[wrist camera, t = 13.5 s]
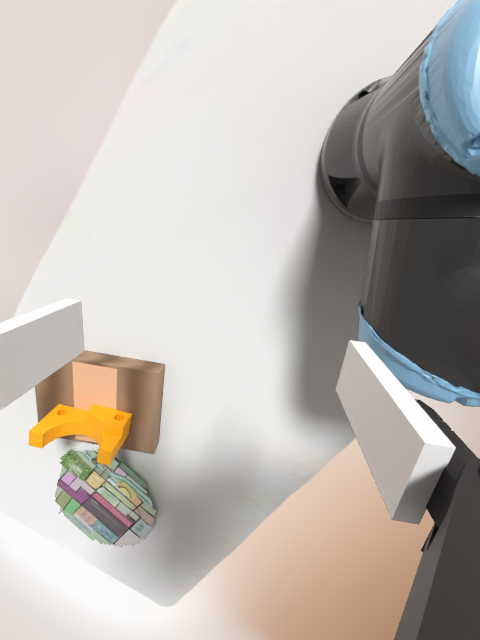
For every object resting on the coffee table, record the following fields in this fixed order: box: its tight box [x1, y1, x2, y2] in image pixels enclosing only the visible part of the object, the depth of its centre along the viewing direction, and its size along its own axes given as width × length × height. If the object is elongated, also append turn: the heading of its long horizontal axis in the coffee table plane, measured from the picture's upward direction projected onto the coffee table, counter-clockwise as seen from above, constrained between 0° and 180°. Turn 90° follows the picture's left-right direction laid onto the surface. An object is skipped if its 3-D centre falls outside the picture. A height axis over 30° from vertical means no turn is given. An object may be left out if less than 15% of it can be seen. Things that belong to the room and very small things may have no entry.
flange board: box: [35, 351, 165, 454], centre depth 47 cm, size 20×16×3 cm
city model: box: [55, 449, 157, 547], centre depth 55 cm, size 25×23×6 cm
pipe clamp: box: [29, 404, 132, 466], centre depth 43 cm, size 12×4×6 cm, turn 75°
